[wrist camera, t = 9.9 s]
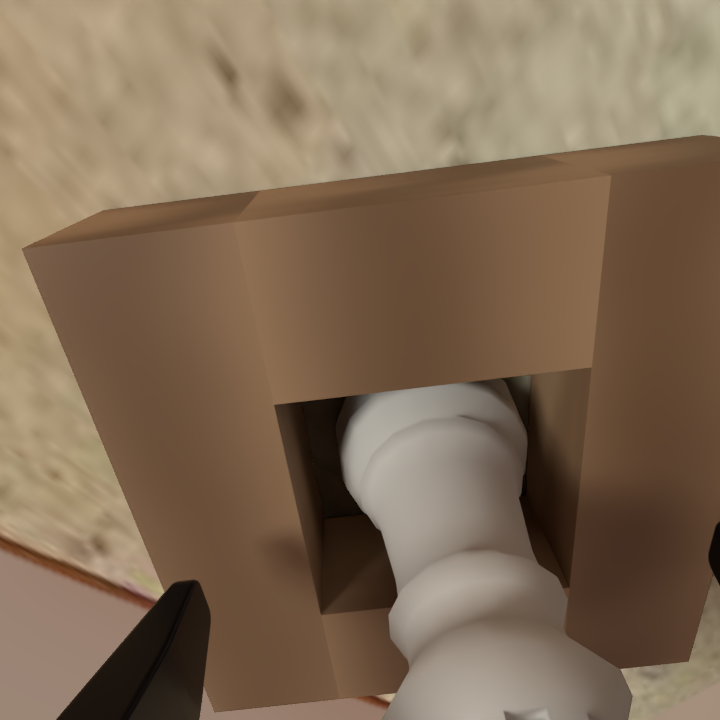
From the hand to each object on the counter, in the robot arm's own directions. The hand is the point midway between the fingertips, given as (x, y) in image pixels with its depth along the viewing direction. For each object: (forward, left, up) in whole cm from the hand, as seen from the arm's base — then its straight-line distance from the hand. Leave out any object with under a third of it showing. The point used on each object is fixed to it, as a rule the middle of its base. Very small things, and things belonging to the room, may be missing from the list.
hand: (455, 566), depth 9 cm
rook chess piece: (0, 0, -5) cm, 5 cm away
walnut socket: (0, 0, -4) cm, 4 cm away
